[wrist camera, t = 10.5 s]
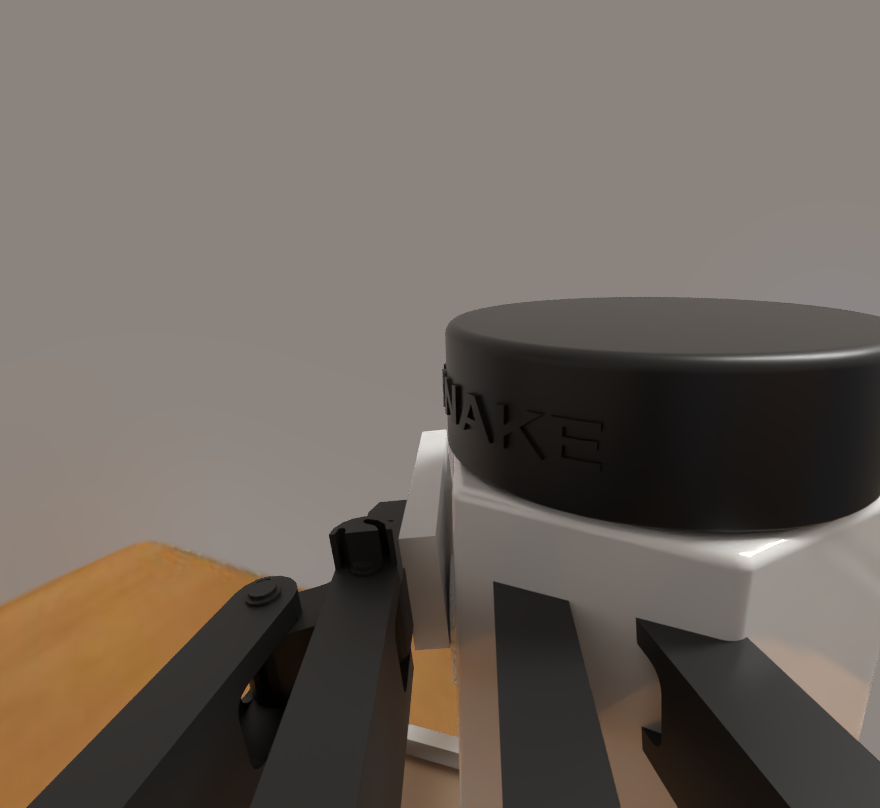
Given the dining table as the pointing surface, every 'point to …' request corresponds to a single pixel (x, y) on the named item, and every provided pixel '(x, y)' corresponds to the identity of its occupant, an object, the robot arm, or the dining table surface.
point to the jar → (663, 499)
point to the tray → (431, 770)
